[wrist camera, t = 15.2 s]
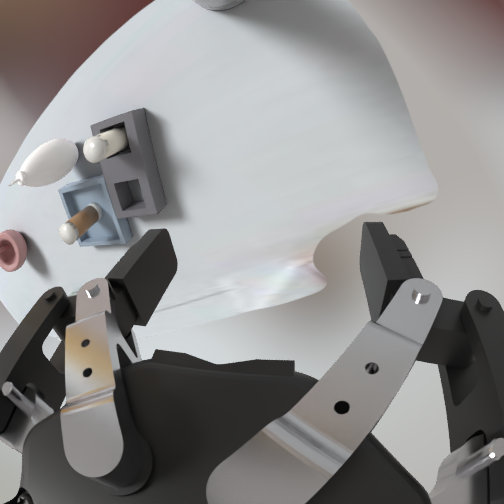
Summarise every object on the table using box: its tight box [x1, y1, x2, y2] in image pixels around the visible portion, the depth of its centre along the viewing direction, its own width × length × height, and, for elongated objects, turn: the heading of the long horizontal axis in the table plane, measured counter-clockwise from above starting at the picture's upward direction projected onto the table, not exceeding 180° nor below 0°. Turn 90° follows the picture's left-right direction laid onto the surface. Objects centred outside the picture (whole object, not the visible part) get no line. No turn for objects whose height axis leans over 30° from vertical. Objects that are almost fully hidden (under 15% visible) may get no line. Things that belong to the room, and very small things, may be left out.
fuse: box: [83, 125, 130, 163], centre depth 38 cm, size 4×4×10 cm
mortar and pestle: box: [0, 230, 27, 272], centre depth 57 cm, size 12×12×11 cm
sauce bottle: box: [8, 139, 79, 187], centre depth 37 cm, size 8×8×18 cm
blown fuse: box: [59, 202, 103, 245], centre depth 46 cm, size 4×4×10 cm
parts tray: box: [58, 175, 133, 247], centre depth 50 cm, size 14×14×3 cm
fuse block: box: [91, 108, 167, 219], centre depth 43 cm, size 18×9×4 cm, turn 7°
